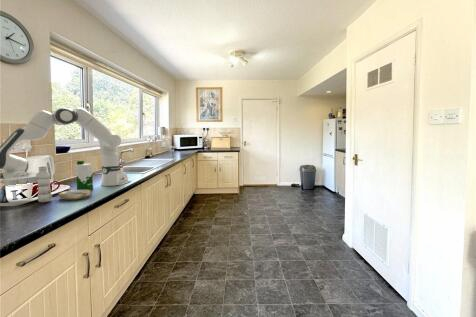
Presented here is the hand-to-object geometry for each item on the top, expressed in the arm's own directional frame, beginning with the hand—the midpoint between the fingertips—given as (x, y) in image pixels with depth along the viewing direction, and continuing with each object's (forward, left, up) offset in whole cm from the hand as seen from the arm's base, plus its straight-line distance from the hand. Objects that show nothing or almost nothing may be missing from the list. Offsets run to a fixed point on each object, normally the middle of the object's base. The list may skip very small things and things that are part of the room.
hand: (35, 180), depth 144 cm
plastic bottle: (0, +7, -12) cm, 14 cm away
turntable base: (-12, +15, -12) cm, 22 cm away
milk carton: (-30, +2, -12) cm, 32 cm away
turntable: (-12, +15, -10) cm, 22 cm away
